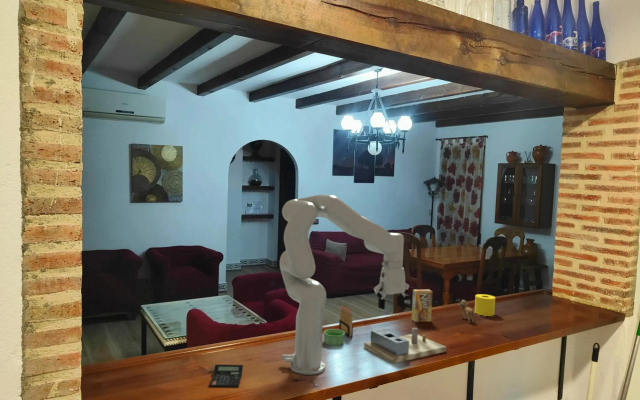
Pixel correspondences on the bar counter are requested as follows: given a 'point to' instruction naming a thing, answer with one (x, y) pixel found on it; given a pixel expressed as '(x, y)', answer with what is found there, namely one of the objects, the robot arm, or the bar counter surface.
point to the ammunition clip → (346, 321)
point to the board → (410, 348)
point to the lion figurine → (467, 310)
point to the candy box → (421, 305)
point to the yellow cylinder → (484, 304)
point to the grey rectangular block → (390, 342)
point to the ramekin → (334, 337)
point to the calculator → (226, 376)
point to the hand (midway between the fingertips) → (390, 307)
